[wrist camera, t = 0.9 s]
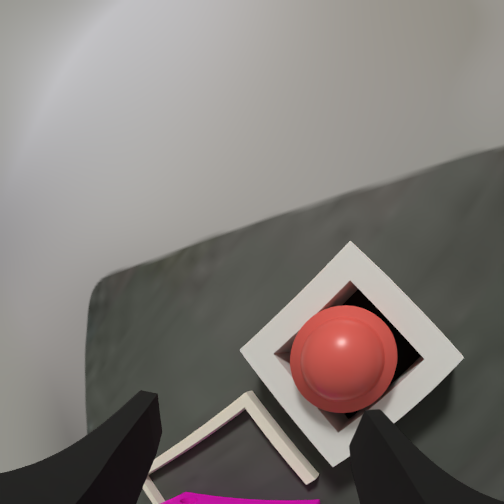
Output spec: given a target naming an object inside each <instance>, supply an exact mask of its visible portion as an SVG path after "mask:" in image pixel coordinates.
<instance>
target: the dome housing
mask: <svg viewBox="0 0 504 504" xmlns="http://www.w3.org/2000/svg"><path fill="white" fill-rule="evenodd" d="M358 289H359V290H360V291H361V292H362V293H363V294H364V295H365V296H366V297H367V298H368V299H369V300H370V301H371V302H372V303H373V304H374V305H375V306H376V307H377V309H378V310H379V311H380V312H381V313H382V314H383V315H384V316H385V317H386V318H387V319H388V320H389V321H390V322H391V323H392V324H393V325H394V327H395V328H396V329H397V330H398V331H399V332H400V333H401V334H402V335H403V336H404V337H405V338H406V340H407V341H408V342H409V343H410V344H411V345H412V346H413V347H414V348H415V349H416V350H417V352H418V353H419V354H420V355H421V356H420V357H419V358H418V359H417V360H416V361H415V362H414V363H413V364H412V365H411V366H410V367H409V368H408V369H407V370H406V371H405V372H404V373H403V374H402V375H400V376H399V377H398V378H397V379H396V380H395V381H394V382H393V383H392V384H391V385H389V386H388V388H387V389H386V391H385V392H384V393H383V394H382V396H380V397H379V398H378V399H377V400H376V401H375V402H373V403H372V404H371V405H369V406H367V407H365V408H363V409H361V410H360V411H358V412H357V413H356V414H355V415H353V416H352V417H351V418H349V419H348V418H347V417H346V415H345V414H344V413H334V412H329V411H325V410H322V409H320V408H318V407H316V406H314V405H313V404H311V403H310V402H309V401H308V400H306V399H305V398H304V397H303V395H302V394H301V393H300V392H299V390H298V389H297V387H296V385H295V383H294V380H293V378H292V374H291V369H290V354H291V349H292V345H293V342H294V340H295V337H296V335H297V334H298V332H299V330H300V329H301V327H302V326H303V325H304V324H305V323H306V322H307V321H308V320H309V319H310V318H311V317H312V316H314V315H315V314H317V313H318V312H320V311H323V310H325V309H327V308H330V307H335V306H342V305H343V304H344V303H345V302H346V301H347V300H348V299H349V298H350V297H351V296H352V295H353V294H354V293H355V292H356V291H357V290H358ZM240 352H241V353H242V354H243V356H244V357H245V358H246V360H247V361H248V362H249V364H250V365H251V366H252V368H253V369H254V370H255V372H256V373H257V374H258V376H259V377H260V378H261V380H262V381H263V382H264V384H265V385H266V386H267V387H268V389H269V390H270V391H271V393H272V394H273V395H274V397H275V398H276V399H277V400H278V402H279V403H280V404H281V405H282V407H283V408H284V409H285V410H286V412H287V413H288V414H289V416H290V417H291V418H292V419H293V420H294V422H295V423H296V424H297V425H298V427H299V428H300V429H301V430H302V432H303V433H304V434H305V435H306V436H307V438H308V439H309V440H310V441H311V442H312V444H313V445H314V446H315V447H316V448H317V449H318V451H319V452H320V453H321V454H322V455H323V457H324V458H325V459H326V460H327V461H328V462H329V463H330V465H331V466H332V467H334V466H336V465H337V464H339V463H340V462H342V461H343V460H345V459H346V458H348V457H349V456H350V450H349V445H350V443H351V440H352V438H353V436H354V434H355V432H356V429H357V427H358V425H359V422H360V420H361V418H362V415H363V413H364V410H374V409H380V410H381V411H382V412H383V413H384V414H385V415H386V416H387V417H388V418H389V419H390V420H391V421H392V422H393V423H395V422H396V421H398V420H399V419H400V418H401V417H402V416H404V415H405V414H406V413H407V412H408V411H410V410H411V409H412V408H413V407H414V406H415V405H416V404H418V403H419V402H420V401H421V400H422V399H423V398H424V397H425V396H426V395H427V394H429V393H430V392H431V391H432V390H433V389H434V388H435V387H436V386H437V385H438V384H439V383H440V382H441V381H442V380H443V379H444V378H445V377H446V376H447V375H448V374H449V373H450V372H451V371H452V370H453V369H454V368H455V367H456V366H457V365H458V364H459V363H460V362H461V360H462V359H463V358H464V357H463V356H462V355H461V353H460V352H459V351H458V350H457V349H456V348H455V347H454V345H453V344H452V343H451V342H450V341H449V340H448V339H447V338H446V337H445V335H444V334H443V333H442V332H441V331H440V330H439V329H438V328H437V327H436V326H435V325H434V324H433V322H432V321H431V320H430V319H429V318H428V317H427V316H426V315H425V314H424V313H423V312H422V311H421V310H420V309H419V308H418V307H417V306H416V305H415V304H414V303H413V301H412V300H411V299H410V298H409V297H408V296H407V295H406V294H405V293H404V292H403V291H402V290H401V289H400V288H399V287H398V286H397V285H396V284H395V283H394V282H393V281H392V280H391V279H390V278H389V277H388V276H387V275H386V274H385V273H384V272H383V271H382V270H381V269H380V268H379V267H378V266H376V265H375V264H374V263H373V262H372V261H371V260H370V259H369V258H368V257H367V256H366V255H365V254H364V253H363V252H362V251H361V250H360V249H359V248H358V247H357V246H355V245H354V244H353V243H352V242H351V241H349V243H348V244H347V245H346V246H345V247H344V248H343V249H342V250H341V251H340V252H339V253H338V254H337V255H336V256H335V257H334V258H333V259H332V260H331V261H330V262H329V263H328V264H327V266H326V267H325V268H324V269H323V270H322V271H321V272H320V273H319V274H318V275H317V276H316V277H315V278H314V279H313V280H312V281H311V282H310V283H309V284H308V285H307V286H306V287H305V288H304V289H303V290H302V291H301V292H300V293H299V294H298V295H297V296H296V297H295V298H294V299H293V300H292V301H291V302H290V303H289V304H288V305H287V306H286V307H285V308H284V309H282V310H281V311H280V312H279V313H278V314H277V315H276V316H275V317H274V318H273V319H272V320H271V321H270V322H269V323H268V324H267V325H266V326H265V327H264V328H263V329H262V330H261V331H259V332H258V333H257V334H256V335H255V336H254V337H253V338H252V339H251V340H250V341H249V342H248V343H247V344H246V345H244V346H243V347H242V348H241V349H240Z"/></svg>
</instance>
